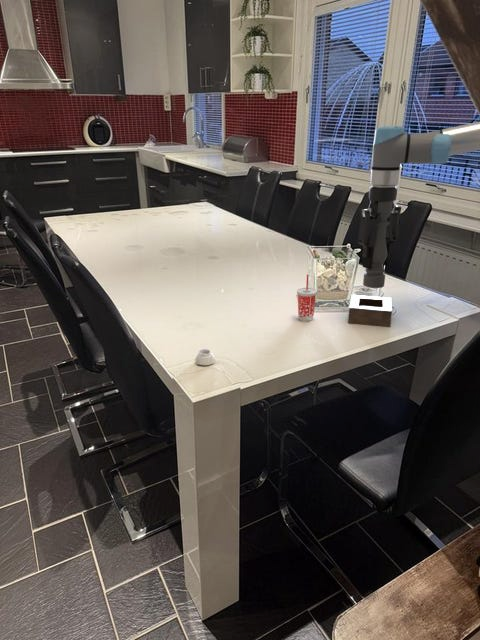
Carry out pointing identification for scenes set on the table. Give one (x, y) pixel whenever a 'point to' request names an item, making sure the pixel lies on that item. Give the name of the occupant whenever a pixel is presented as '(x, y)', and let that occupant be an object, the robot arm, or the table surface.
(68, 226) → the table surface
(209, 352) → the white jar
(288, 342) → the table surface
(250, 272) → the table surface
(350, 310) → the block
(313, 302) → the beverage cup
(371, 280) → the candle holder
